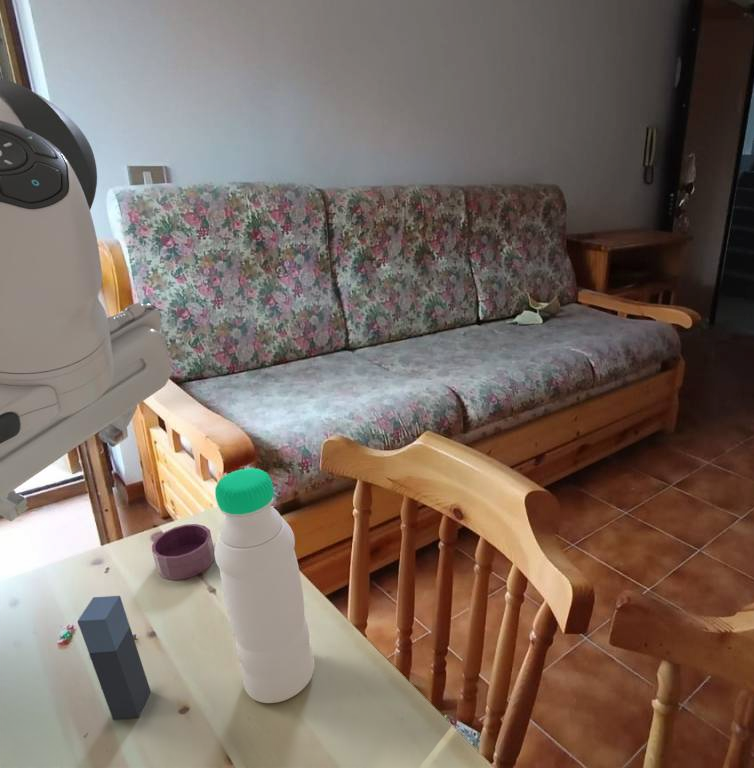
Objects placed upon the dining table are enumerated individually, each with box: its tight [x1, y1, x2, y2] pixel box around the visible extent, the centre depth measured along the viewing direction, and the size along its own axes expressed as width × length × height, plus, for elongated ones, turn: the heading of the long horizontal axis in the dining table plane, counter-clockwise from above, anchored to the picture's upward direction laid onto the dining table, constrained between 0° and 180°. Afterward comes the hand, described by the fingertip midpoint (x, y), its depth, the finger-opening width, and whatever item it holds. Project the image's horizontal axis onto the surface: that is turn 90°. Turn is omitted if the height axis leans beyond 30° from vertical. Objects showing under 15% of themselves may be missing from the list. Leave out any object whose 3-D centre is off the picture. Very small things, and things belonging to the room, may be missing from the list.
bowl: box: [151, 523, 215, 581], centre depth 82 cm, size 7×7×4 cm
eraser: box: [77, 595, 152, 721], centre depth 60 cm, size 2×3×13 cm
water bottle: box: [214, 467, 315, 704], centre depth 61 cm, size 7×7×25 cm
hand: (66, 472), depth 53 cm, fingers open, 8 cm apart
